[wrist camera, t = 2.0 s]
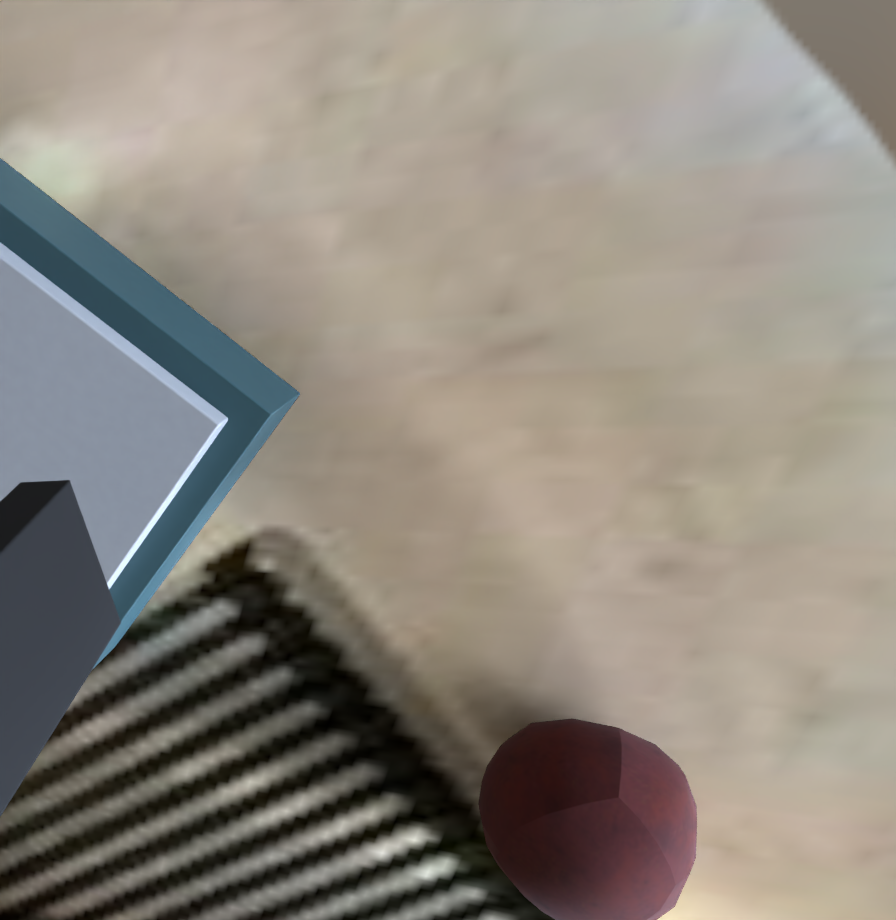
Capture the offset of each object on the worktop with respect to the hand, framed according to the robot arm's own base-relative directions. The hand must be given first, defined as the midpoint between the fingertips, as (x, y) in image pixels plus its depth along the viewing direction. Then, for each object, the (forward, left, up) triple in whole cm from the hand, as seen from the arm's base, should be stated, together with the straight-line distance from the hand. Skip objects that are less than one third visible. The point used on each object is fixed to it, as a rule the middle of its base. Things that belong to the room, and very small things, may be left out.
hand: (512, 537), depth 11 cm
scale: (+1, -18, -15) cm, 24 cm away
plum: (+17, +1, -15) cm, 22 cm away
